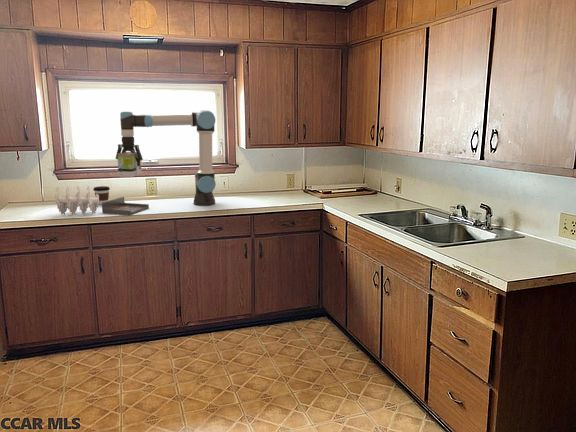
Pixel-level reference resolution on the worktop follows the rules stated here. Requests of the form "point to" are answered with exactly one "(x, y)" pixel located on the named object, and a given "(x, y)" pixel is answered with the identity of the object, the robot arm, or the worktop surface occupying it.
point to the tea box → (127, 165)
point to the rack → (122, 207)
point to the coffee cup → (102, 193)
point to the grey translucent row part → (76, 202)
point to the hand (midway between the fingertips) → (129, 170)
